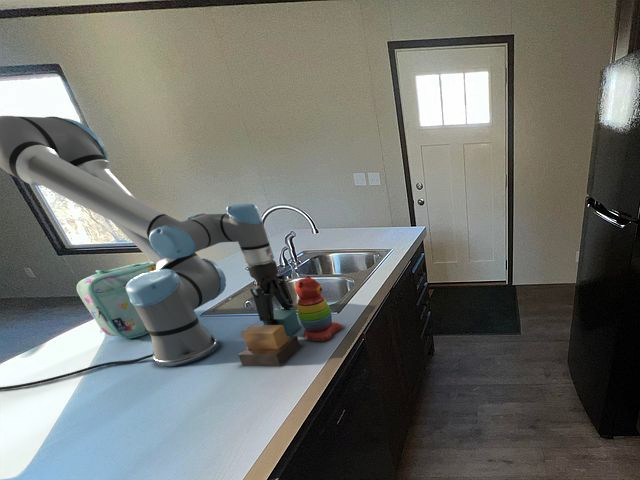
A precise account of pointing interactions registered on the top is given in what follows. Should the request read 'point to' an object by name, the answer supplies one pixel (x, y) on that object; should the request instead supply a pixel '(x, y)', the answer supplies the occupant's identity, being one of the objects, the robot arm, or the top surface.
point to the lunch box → (114, 300)
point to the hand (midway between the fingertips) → (285, 332)
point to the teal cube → (287, 320)
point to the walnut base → (269, 354)
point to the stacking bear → (314, 311)
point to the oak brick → (265, 337)
